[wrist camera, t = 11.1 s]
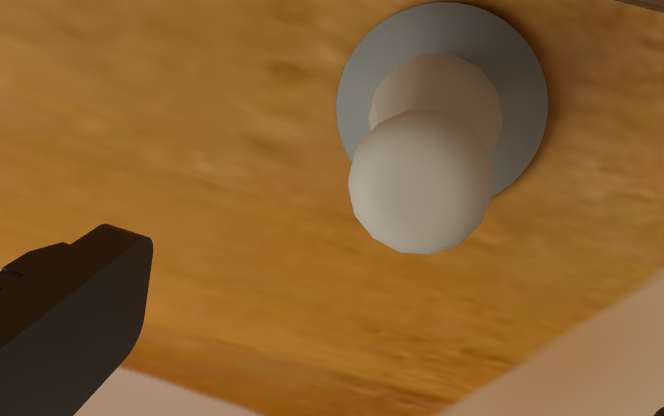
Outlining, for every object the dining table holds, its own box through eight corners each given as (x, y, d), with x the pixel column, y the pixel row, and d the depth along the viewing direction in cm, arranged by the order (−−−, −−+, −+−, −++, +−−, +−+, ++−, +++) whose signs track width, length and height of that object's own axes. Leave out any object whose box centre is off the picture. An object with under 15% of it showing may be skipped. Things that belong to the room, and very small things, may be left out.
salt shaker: (375, 164, 31) (315, 278, 19) (377, 47, 29) (312, 91, 17) (494, 170, 29) (512, 296, 18) (505, 49, 28) (533, 97, 16)
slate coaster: (367, -23, 28) (365, -23, 28) (580, 34, 27) (582, 35, 27) (318, 174, 32) (316, 177, 32) (504, 230, 31) (504, 235, 30)
